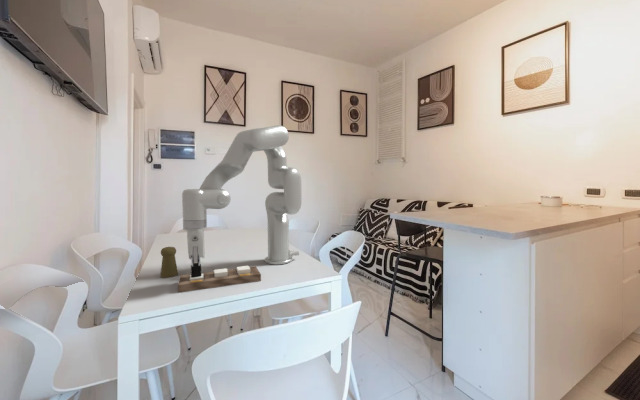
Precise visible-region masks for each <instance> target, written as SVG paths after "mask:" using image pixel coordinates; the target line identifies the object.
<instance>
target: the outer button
mask: <svg viewBox="0 0 640 400" xmlns="http://www.w3.org/2000/svg"><path fill="white" fill-rule="evenodd" d="M201 273H202V274H201V276H200V277H191V275H190V281H194V280H201V279H204V272H201Z"/></svg>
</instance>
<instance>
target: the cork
mask: <svg viewBox="0 0 640 400" xmlns="http://www.w3.org/2000/svg"><path fill="white" fill-rule="evenodd" d="M176 253H177V248H176V247H174V246H166V247H163V248H161V250H160V254H161V257H162V259H161V266H160V267H161V269H160V278H161V279H168V278H173V277H176V276H178V275H179V272H178V271H179V270H178V265H177V261H176Z"/></svg>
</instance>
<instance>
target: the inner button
mask: <svg viewBox="0 0 640 400" xmlns="http://www.w3.org/2000/svg"><path fill="white" fill-rule="evenodd" d="M250 267H251V266H249V265H242V266H237V267H236V269H237V275H240V274H248V273H250Z"/></svg>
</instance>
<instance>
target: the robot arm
mask: <svg viewBox="0 0 640 400" xmlns="http://www.w3.org/2000/svg"><path fill="white" fill-rule="evenodd" d="M289 138H290V135H289V131H288V130H287V128H286V127H285V126H284V125H272V126H266V127H258V128H252V129H246V130H242V131H240V132H238V133H237V134H236V136H235V137H234V139H233V141H232V142H231V144H230V146H229V147H228V149H227V152H226V153H225V155H224V157H222V160H221V161H220V162H219V163H218V164H217V165H216V166H215V167H213V169H212V170H211V171H210V172H209V174H208V175H206V177H205V178H204V180H203V182H202V184H201V185H200V186H199V188H198V189H197V188H191V189H189V188H188V189H187V188H186V189H184V190H183V191H182V193H181V197H182V198H181V199H182V201H181V203H182V229H183V230H184V231H186V238H187V253H188V259H189V260H191V265H190V274H191V277H200V276H201V273H202V264H201V258H202V259H204V258H205V253H206V252H205V251H206V250H205V230H206V229H208V219H207V215H208V214H207V210H209V209H210V210H211V209H212V210H222V209H225V208H226V207H228V206H229V205H230V203H231V195H230V193H229V192H228V191H227V190H225V189H223V188H222V187H223V186H224V185H225V184H226V183H227V182H228V181H230V180H233V178H235V177H237V176H238V175H240V174H242V173H243V172H244V170H245V168H246V166H247V164H248V162H249V160H250V158H251V156H252V154H253V152H254V153H255V152H262V151H263V152H264V154H265V156H266V159H267V184H268V185H269V187H271V188H272V189H275V190H283V191H274V192H271V193H269V194H268V195H267V196H266V198H265V202H264V204H265V205H264V206H265V211H266V217H267V256H266V257H264V262H265V263H266V264H269V265H284V264H285V265H286V264H289V263H291V262H292V261H293V256H300V252H299V251H297V250H290V246H289V245H290V244H289V243H290V240H289V239H290V237H289V236H290V235H289V234H290V230H289V229H290V225H289V224H290V222H289V218H288V215H296V214H297V213H299V212H300V210H301V207H302V177H301V174H300V172H299V170H297V169H296V168H294V167H290V166H289V167H288V164H287V155H286V152H285V150H284V148H283V146H285V145H287V143H288V141H289Z"/></svg>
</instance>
